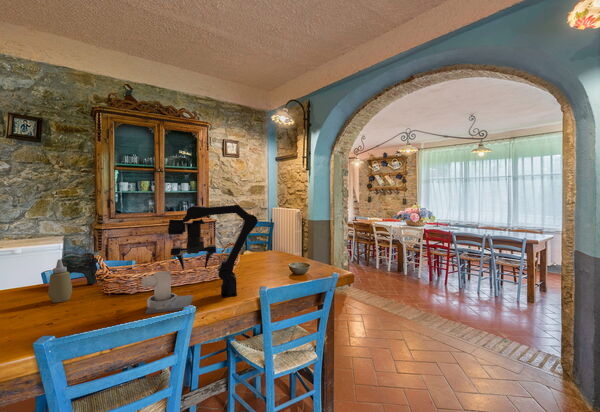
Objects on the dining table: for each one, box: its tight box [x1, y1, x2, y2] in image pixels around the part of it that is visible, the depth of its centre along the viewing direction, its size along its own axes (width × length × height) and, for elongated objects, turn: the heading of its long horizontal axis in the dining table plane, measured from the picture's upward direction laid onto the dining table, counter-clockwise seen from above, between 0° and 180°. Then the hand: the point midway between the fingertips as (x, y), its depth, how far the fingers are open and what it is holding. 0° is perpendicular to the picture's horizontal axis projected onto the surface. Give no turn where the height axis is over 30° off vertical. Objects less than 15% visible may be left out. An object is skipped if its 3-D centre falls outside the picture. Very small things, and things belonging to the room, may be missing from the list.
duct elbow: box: [141, 270, 172, 301], centre depth 114 cm, size 10×6×13 cm, turn 132°
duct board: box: [145, 292, 194, 315], centre depth 117 cm, size 16×14×4 cm
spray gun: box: [60, 245, 102, 285], centre depth 144 cm, size 20×6×20 cm, turn 93°
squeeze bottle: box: [47, 258, 73, 303], centre depth 122 cm, size 8×8×18 cm
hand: (194, 269), depth 125 cm, fingers open, 9 cm apart
